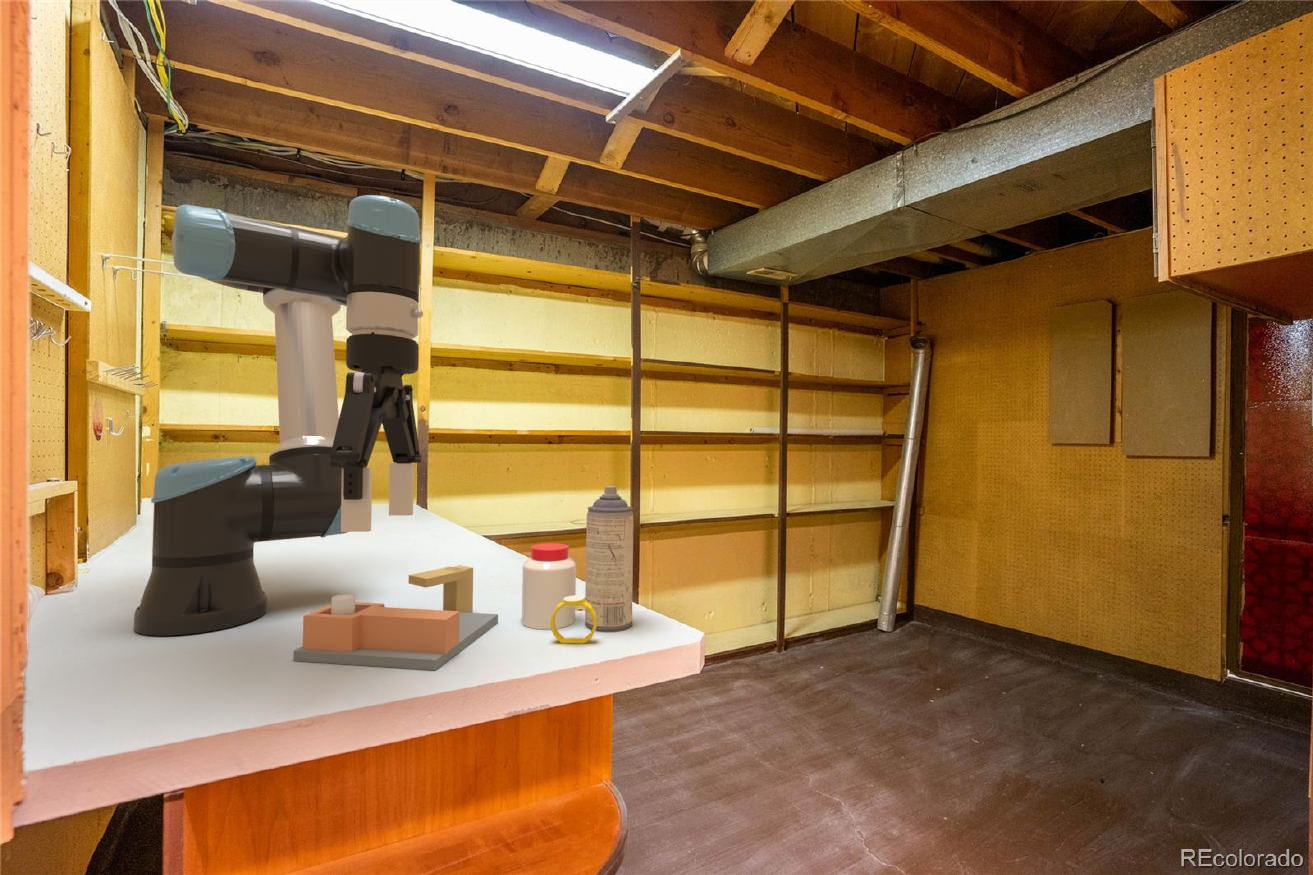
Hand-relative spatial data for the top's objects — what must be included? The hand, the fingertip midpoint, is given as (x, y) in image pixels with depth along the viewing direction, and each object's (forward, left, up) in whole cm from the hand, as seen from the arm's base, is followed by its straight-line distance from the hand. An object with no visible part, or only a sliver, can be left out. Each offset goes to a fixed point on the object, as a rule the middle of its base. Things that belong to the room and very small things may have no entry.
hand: (380, 522), depth 67 cm
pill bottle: (+13, +21, -17) cm, 30 cm away
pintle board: (-3, +12, -17) cm, 21 cm away
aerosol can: (+22, +21, -17) cm, 35 cm away
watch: (+19, +13, -17) cm, 29 cm away
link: (-2, +5, -16) cm, 17 cm away
